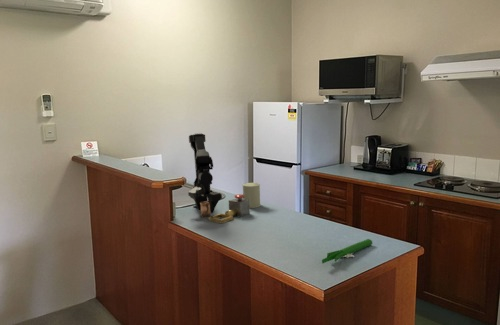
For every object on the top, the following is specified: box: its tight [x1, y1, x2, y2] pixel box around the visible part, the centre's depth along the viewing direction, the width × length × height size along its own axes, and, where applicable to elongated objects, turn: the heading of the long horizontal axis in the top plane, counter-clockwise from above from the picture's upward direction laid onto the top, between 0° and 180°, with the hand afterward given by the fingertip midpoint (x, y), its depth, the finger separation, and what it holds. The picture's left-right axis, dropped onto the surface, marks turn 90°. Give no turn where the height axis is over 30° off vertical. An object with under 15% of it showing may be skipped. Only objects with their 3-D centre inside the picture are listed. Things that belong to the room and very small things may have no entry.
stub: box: [200, 201, 211, 218], centre depth 199 cm, size 5×5×7 cm
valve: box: [224, 193, 251, 218], centre depth 199 cm, size 8×12×9 cm
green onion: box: [321, 238, 373, 265], centre depth 143 cm, size 5×3×30 cm
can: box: [242, 182, 261, 209], centre depth 216 cm, size 9×9×12 cm
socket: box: [208, 213, 234, 224], centre depth 192 cm, size 8×8×2 cm
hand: (205, 211), depth 199 cm, fingers open, 9 cm apart
